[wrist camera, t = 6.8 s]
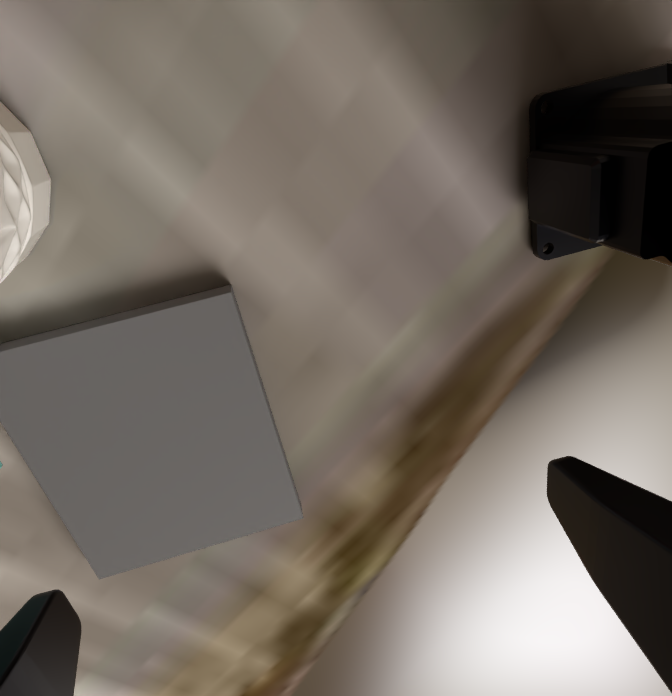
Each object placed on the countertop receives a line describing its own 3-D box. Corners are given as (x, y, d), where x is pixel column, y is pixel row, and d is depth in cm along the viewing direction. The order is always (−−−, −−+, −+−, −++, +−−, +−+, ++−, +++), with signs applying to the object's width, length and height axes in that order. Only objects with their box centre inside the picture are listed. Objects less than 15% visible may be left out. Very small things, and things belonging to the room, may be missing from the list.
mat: (231, 284, 20) (231, 292, 19) (300, 504, 25) (303, 518, 24) (-25, 350, 19) (-38, 361, 18) (103, 562, 24) (99, 579, 23)
